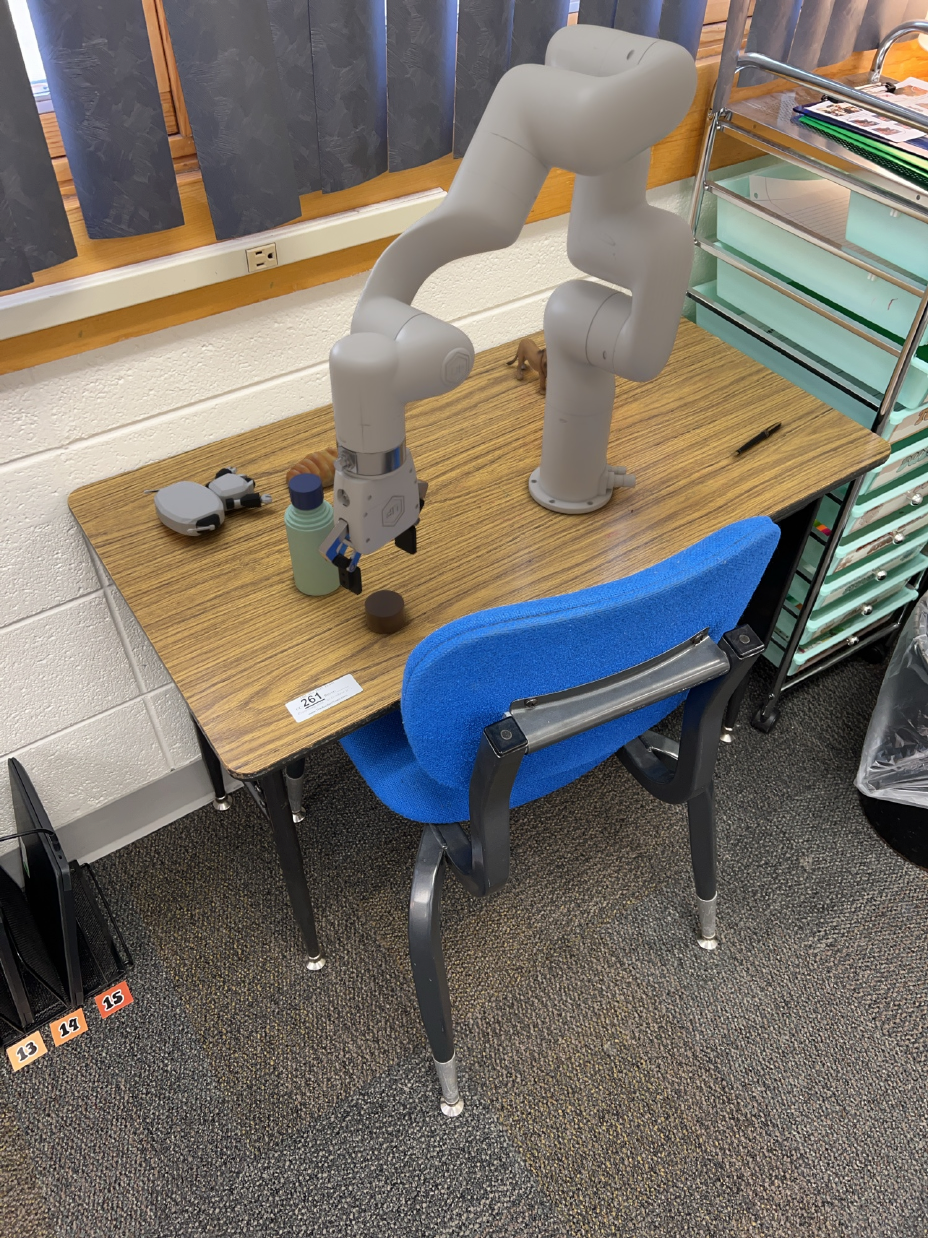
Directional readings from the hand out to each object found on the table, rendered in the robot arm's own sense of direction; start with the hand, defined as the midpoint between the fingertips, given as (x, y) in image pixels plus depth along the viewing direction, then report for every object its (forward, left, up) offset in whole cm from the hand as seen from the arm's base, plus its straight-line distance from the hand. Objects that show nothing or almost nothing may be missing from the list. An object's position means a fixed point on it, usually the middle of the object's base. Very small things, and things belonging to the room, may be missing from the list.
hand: (379, 568), depth 111 cm
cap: (+10, -7, +7) cm, 14 cm away
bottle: (+10, -7, -9) cm, 15 cm away
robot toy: (+28, -20, -9) cm, 36 cm away
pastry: (+14, -30, -9) cm, 34 cm away
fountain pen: (-54, -45, -9) cm, 71 cm away
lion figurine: (-19, -61, -9) cm, 65 cm away
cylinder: (0, 0, -9) cm, 9 cm away
